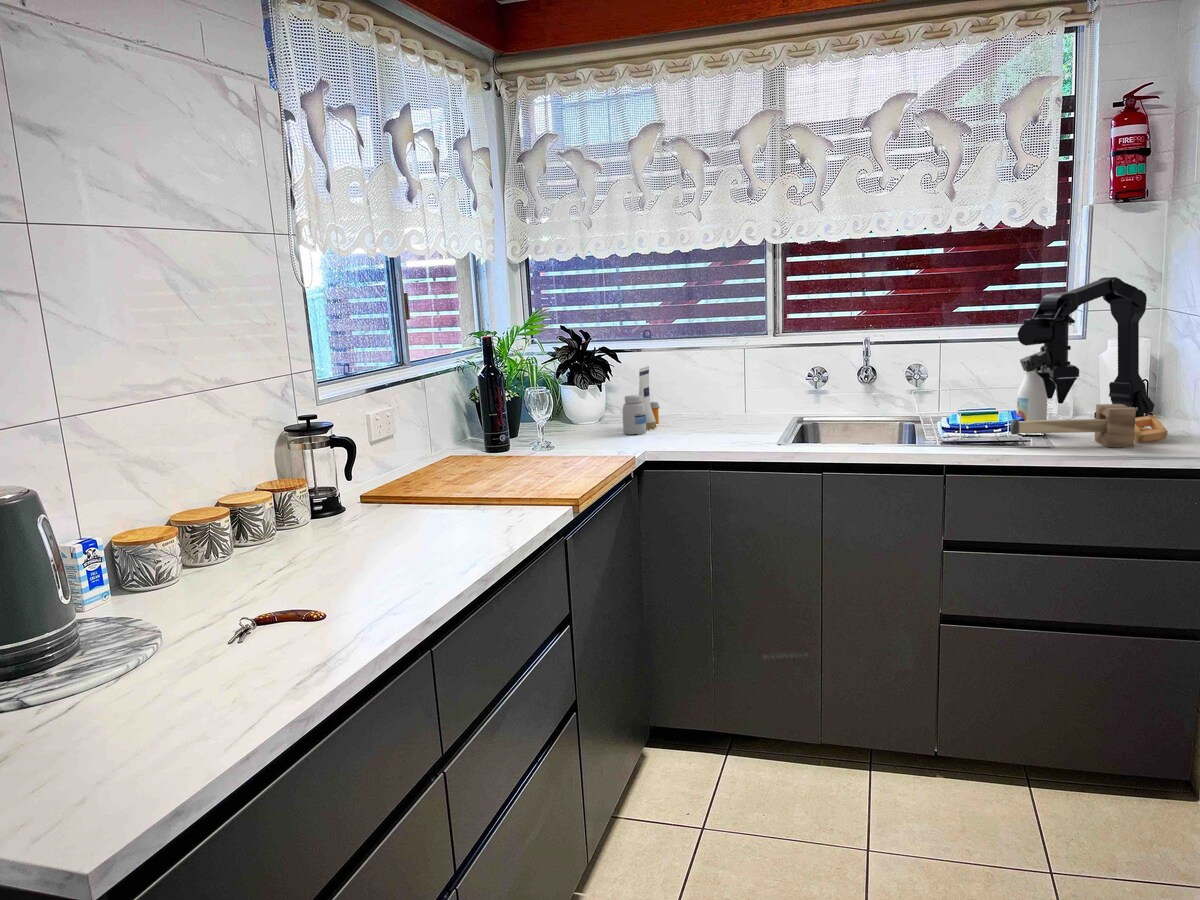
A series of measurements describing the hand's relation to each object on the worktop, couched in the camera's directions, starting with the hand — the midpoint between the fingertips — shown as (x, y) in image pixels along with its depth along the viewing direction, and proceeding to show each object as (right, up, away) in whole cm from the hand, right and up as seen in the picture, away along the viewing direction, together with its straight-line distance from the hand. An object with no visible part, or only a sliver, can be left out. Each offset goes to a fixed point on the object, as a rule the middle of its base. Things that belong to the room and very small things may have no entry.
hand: (1054, 400), depth 241 cm
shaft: (0, -9, -1) cm, 9 cm away
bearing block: (+14, -12, -3) cm, 18 cm away
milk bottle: (+2, -9, +17) cm, 20 cm away
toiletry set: (-106, -7, +60) cm, 122 cm away
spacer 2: (+24, -7, 0) cm, 25 cm away
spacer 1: (+25, -10, +4) cm, 27 cm away
